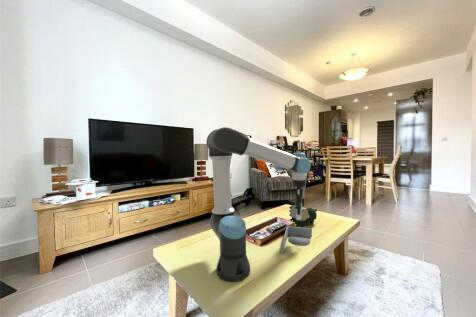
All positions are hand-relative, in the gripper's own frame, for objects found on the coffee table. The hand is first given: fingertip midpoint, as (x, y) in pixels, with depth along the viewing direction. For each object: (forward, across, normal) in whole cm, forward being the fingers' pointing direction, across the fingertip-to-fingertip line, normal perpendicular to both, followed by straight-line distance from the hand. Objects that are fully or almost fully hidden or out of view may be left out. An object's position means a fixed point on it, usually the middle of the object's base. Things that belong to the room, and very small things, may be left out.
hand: (299, 216), depth 119 cm
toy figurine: (+15, +28, -2) cm, 31 cm away
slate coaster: (+14, 0, 0) cm, 14 cm away
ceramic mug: (+2, +1, -1) cm, 2 cm away
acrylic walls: (+14, -5, +1) cm, 15 cm away
